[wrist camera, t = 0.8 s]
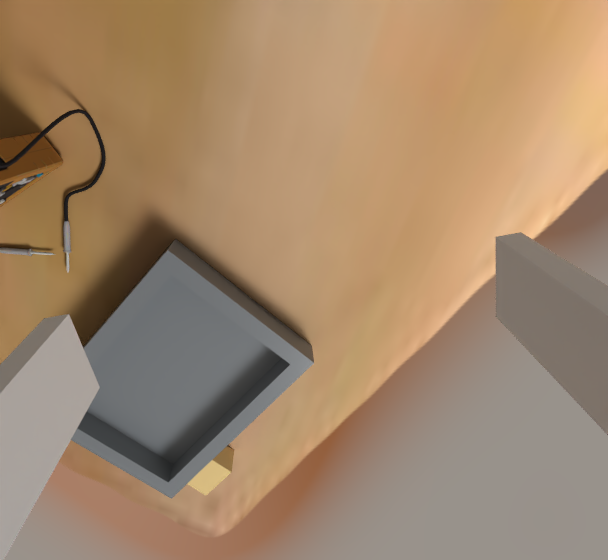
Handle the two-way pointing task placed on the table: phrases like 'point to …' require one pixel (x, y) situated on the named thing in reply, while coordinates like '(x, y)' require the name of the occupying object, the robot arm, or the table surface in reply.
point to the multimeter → (35, 171)
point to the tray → (184, 374)
